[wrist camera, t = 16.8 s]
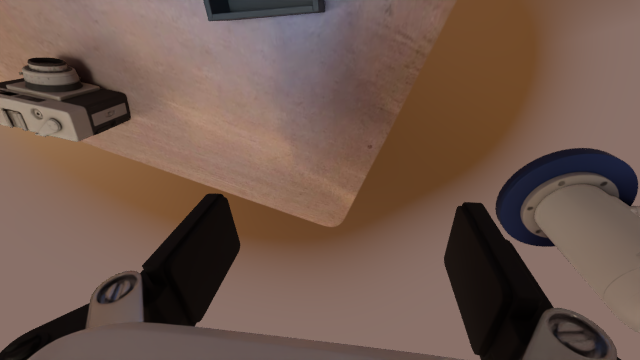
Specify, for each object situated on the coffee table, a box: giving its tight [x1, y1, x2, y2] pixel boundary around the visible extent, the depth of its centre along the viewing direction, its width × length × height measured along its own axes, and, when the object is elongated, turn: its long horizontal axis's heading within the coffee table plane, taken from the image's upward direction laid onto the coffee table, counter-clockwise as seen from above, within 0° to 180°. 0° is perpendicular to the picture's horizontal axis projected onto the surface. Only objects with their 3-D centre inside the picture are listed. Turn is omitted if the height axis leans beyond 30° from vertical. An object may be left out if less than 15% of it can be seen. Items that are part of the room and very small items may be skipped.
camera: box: [0, 58, 130, 142], centre depth 37 cm, size 14×8×10 cm, turn 79°
